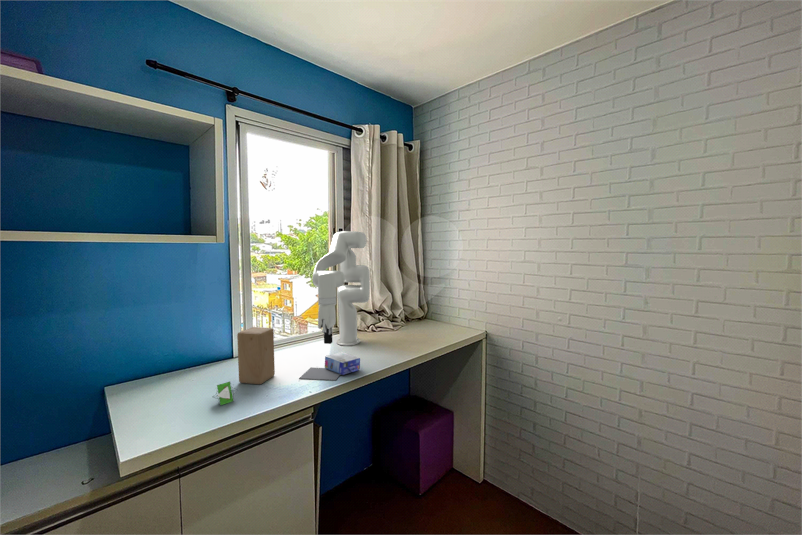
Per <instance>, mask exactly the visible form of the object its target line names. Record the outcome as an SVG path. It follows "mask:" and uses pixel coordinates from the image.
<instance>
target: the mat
mask: <svg viewBox="0 0 802 535" xmlns="http://www.w3.org/2000/svg"><path fill="white" fill-rule="evenodd" d="M340 376H341V374H339V373H336V372H334V371H331V370H329V369H326V368H325V367H310V368H309V369H308V370H306V371H305V372H304V373H303V374H302V375H301V376H300V377H299V378H298V379H299V380H309V381H310V380H311V381H312V380H314V381H335V382H336V381H337V380H338V379H339V377H340Z"/></svg>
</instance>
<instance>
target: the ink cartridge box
mask: <svg viewBox="0 0 802 535" xmlns="http://www.w3.org/2000/svg"><path fill="white" fill-rule="evenodd" d="M324 357H325V358H324V368H326V369H329V370H331V371H334V372H336V373H339V374H341V375H342V376H344V375H347V374H350V373H354V372H358V371H359V370H361V357H358V356H356V355H352V354H350V353H346V352H344V351H339V352H337V353H333V354H329V355H326V356H324ZM341 375H340V376H341Z"/></svg>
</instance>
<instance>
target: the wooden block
mask: <svg viewBox="0 0 802 535" xmlns="http://www.w3.org/2000/svg"><path fill="white" fill-rule="evenodd" d="M236 336H237V337H236V338H237V361H238V382H239V383H241V384H250V385H251V384H252V385H253V384H254V385H262V384H264V383H265V382H266V381H268V380H270V379H271V378H273V377H274V376H275V372H276V371H275V370H276V369H275V336H274V329H273V328H272V327H261V326H260V327H258V326H256V327H255V326H252V327H250V328H247V329H245V330H241V331H239V332H237V335H236Z"/></svg>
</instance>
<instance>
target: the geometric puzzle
mask: <svg viewBox="0 0 802 535" xmlns="http://www.w3.org/2000/svg"><path fill="white" fill-rule="evenodd" d="M232 388H233V387H232V383H231V381H226V382H224V383H221V384H220V383H219V384H217V385H216V389H217V394H216V396H213V398H214V399H217V400H219V401H218V404H219V406H223V405H226V404H229V403H232V402H234V400H235V399H234V395H235V394H236V391H238V390H239V389H238V388H236V387H234V388H233V389H232ZM234 389H235V390H234ZM234 391H235V393H234Z"/></svg>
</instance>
